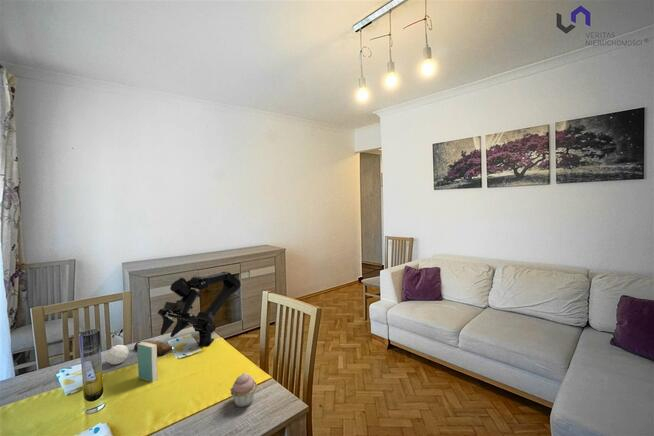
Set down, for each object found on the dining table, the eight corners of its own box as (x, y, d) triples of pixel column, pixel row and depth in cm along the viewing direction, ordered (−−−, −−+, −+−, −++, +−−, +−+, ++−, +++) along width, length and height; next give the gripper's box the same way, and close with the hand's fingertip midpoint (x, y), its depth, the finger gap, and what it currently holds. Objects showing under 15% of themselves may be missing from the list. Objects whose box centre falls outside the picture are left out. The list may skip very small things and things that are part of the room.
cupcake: (258, 390, 103) (258, 364, 103) (256, 408, 94) (256, 380, 94) (232, 393, 102) (232, 367, 101) (227, 412, 93) (227, 383, 92)
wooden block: (143, 374, 113) (142, 341, 112) (157, 379, 110) (156, 344, 109) (137, 378, 110) (136, 343, 110) (152, 382, 108) (151, 347, 107)
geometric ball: (112, 370, 120) (101, 355, 120) (131, 355, 126) (121, 342, 126) (114, 368, 115) (102, 353, 115) (134, 353, 121) (123, 339, 121)
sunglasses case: (177, 347, 134) (171, 339, 130) (166, 361, 128) (159, 353, 125) (150, 341, 140) (143, 333, 136) (138, 354, 134) (131, 346, 131)
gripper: (160, 290, 125) (137, 324, 115) (192, 295, 118) (170, 332, 109) (175, 302, 133) (155, 334, 123) (206, 307, 126) (187, 342, 117)
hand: (166, 335), depth 118 cm, fingers open, 5 cm apart
